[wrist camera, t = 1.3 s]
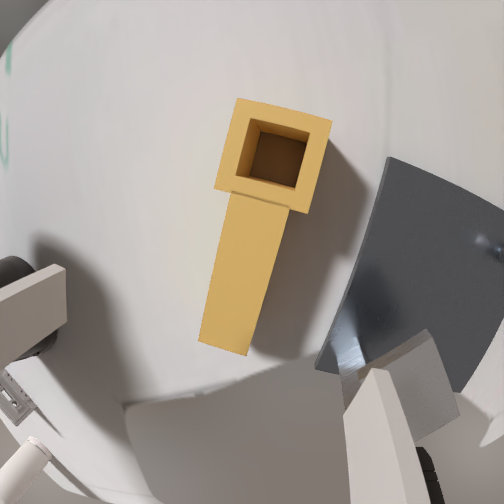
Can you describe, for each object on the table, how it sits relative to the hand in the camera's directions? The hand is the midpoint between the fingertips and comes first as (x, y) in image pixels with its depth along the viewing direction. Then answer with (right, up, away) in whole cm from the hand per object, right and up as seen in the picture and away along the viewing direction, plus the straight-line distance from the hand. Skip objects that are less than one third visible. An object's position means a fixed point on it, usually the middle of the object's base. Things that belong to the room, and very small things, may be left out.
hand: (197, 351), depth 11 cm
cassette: (-46, -24, +31) cm, 60 cm away
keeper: (+14, -5, +16) cm, 22 cm away
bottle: (-54, -48, +38) cm, 81 cm away
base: (+21, -1, +14) cm, 25 cm away
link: (+3, +6, +15) cm, 16 cm away
